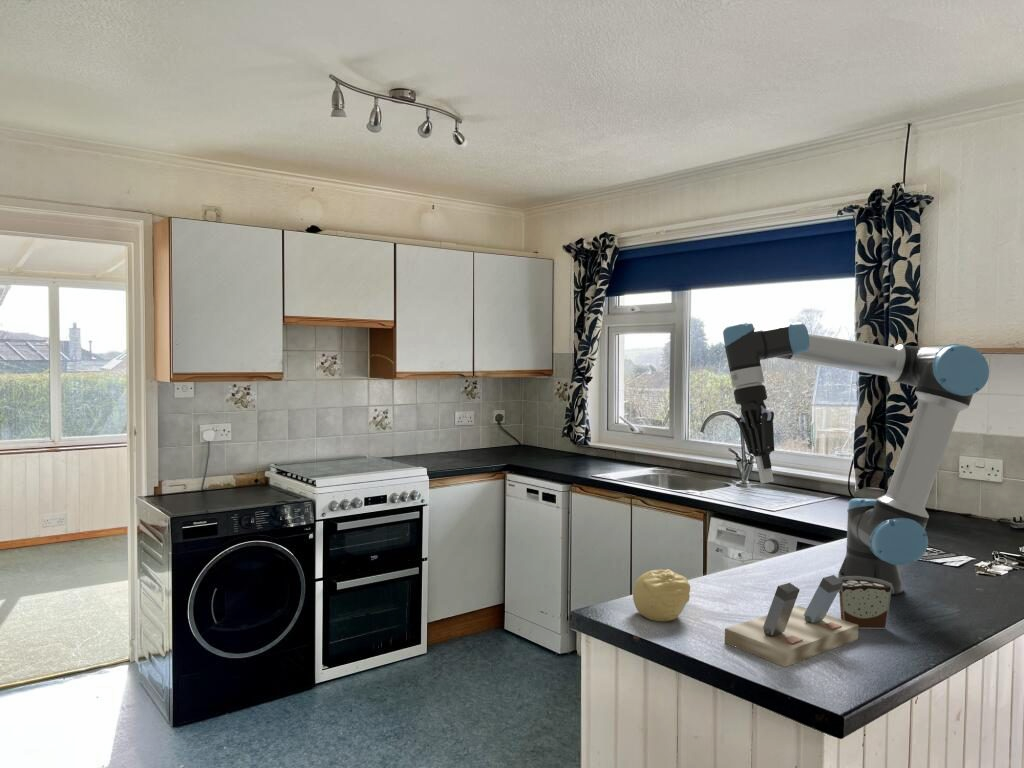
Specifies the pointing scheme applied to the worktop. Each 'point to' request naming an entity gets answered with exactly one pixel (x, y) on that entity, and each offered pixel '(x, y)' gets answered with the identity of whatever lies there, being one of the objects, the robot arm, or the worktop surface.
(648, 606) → the pale yellow wrinkled ball
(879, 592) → the food container
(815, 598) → the lever
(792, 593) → the lever
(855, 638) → the switch board
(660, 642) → the worktop surface
